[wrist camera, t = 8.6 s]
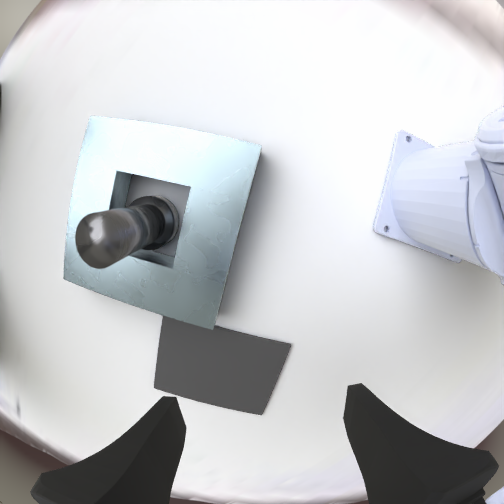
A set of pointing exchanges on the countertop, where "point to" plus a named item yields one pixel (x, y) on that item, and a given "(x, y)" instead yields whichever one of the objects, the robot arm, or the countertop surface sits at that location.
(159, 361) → the tool mat
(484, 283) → the countertop surface
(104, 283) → the grey flat square frame
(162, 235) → the dark grey peg
